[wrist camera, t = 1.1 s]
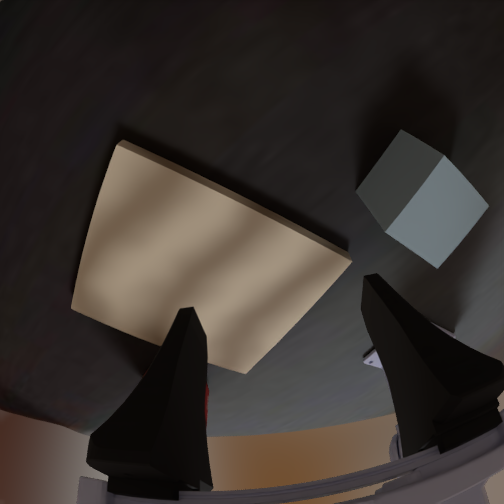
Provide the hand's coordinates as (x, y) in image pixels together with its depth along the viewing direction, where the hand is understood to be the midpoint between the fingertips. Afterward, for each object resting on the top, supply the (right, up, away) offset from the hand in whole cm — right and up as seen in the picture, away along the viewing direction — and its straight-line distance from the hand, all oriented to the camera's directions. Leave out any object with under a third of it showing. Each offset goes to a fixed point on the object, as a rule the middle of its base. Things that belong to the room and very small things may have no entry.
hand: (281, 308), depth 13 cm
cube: (+10, +7, +7) cm, 14 cm away
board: (-6, 0, +12) cm, 13 cm away
